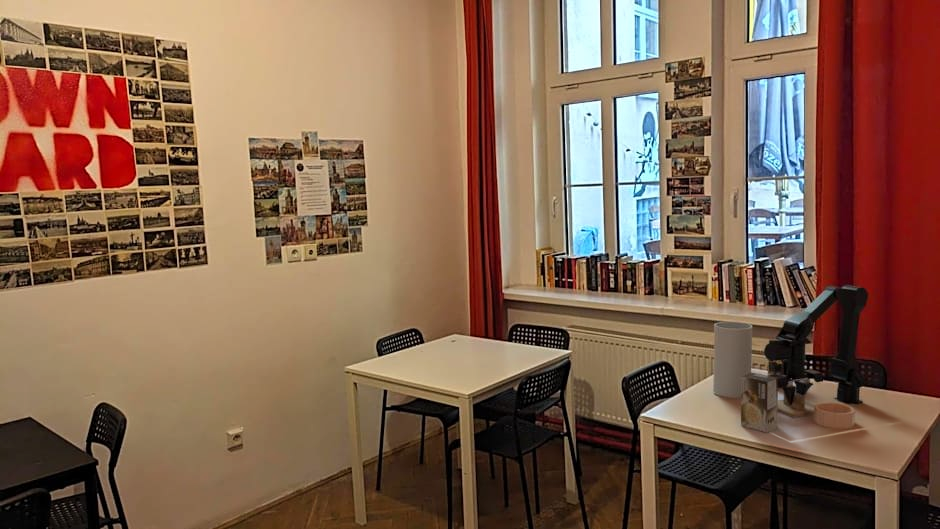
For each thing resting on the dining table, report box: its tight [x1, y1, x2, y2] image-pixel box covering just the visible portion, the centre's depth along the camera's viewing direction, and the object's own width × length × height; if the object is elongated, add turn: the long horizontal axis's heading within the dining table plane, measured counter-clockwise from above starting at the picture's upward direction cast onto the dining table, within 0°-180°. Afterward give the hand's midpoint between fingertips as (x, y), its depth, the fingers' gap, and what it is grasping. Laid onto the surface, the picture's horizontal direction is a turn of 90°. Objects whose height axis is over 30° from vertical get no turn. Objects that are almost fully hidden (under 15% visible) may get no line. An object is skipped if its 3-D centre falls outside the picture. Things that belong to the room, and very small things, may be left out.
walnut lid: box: [777, 392, 815, 418], centre depth 234 cm, size 13×13×5 cm
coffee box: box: [740, 372, 779, 433], centre depth 219 cm, size 9×6×16 cm
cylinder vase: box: [712, 321, 753, 399], centre depth 251 cm, size 12×12×25 cm
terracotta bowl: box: [813, 401, 856, 430], centre depth 221 cm, size 11×11×5 cm
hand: (794, 403), depth 234 cm, fingers closed on walnut lid, 3 cm apart
